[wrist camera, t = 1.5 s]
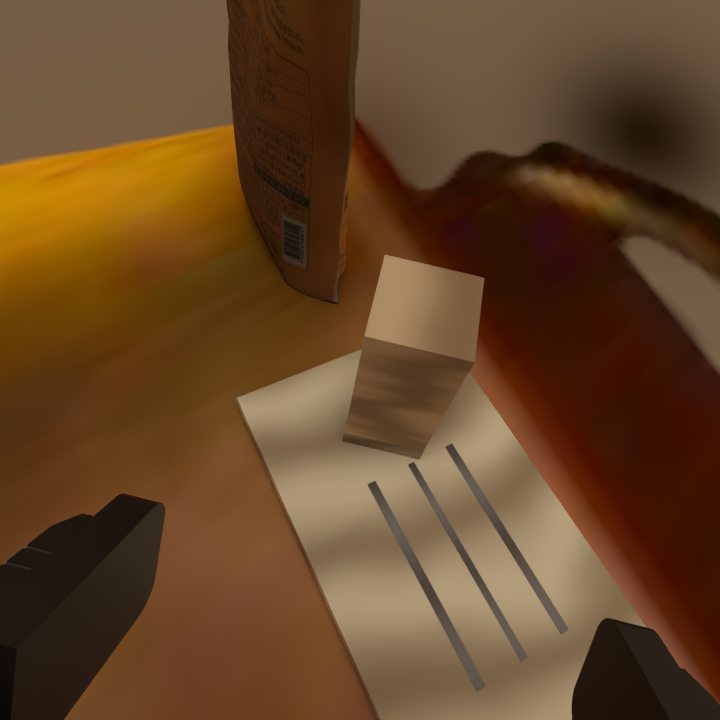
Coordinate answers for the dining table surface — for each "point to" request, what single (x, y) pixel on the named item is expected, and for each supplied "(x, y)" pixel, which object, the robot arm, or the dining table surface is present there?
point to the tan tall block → (413, 355)
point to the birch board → (436, 554)
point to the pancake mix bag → (296, 129)
